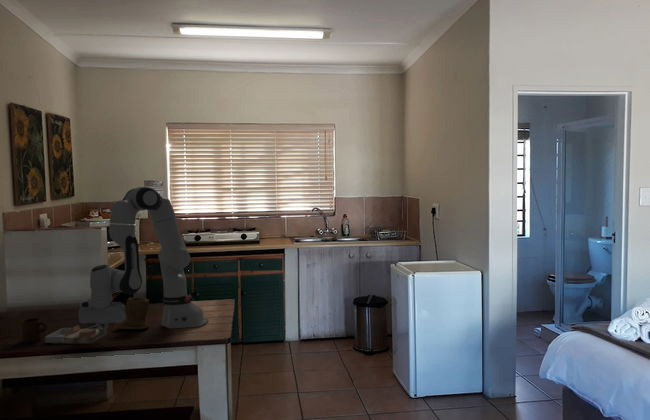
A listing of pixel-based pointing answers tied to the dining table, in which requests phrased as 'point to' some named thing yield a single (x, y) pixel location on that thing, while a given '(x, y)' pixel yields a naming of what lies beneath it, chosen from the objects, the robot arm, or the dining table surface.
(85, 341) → the board
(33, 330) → the mug
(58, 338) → the tray
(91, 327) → the squeegee
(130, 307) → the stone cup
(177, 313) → the robot arm
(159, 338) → the dining table surface
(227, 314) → the dining table surface
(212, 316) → the dining table surface
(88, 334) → the tile
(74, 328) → the tile
